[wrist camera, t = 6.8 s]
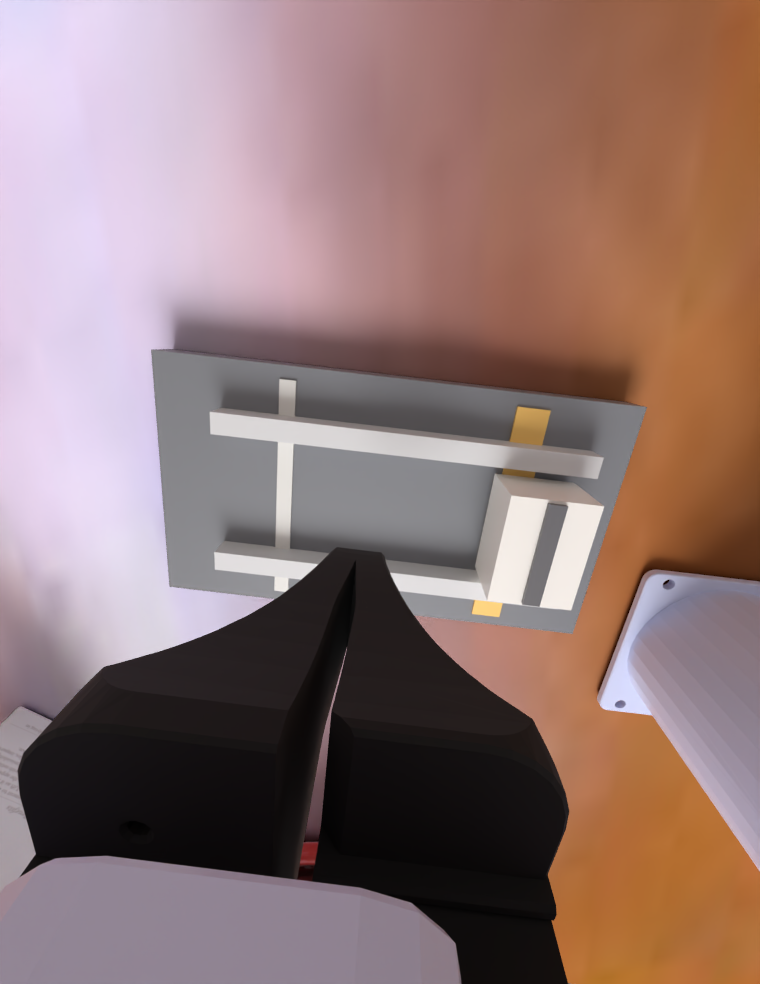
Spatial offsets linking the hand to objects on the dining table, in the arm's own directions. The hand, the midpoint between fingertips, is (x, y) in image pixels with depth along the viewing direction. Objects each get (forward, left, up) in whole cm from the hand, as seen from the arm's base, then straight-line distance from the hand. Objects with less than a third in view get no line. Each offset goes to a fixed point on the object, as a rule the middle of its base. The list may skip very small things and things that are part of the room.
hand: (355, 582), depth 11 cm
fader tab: (-6, 0, -5) cm, 8 cm away
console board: (-1, 0, -7) cm, 7 cm away
